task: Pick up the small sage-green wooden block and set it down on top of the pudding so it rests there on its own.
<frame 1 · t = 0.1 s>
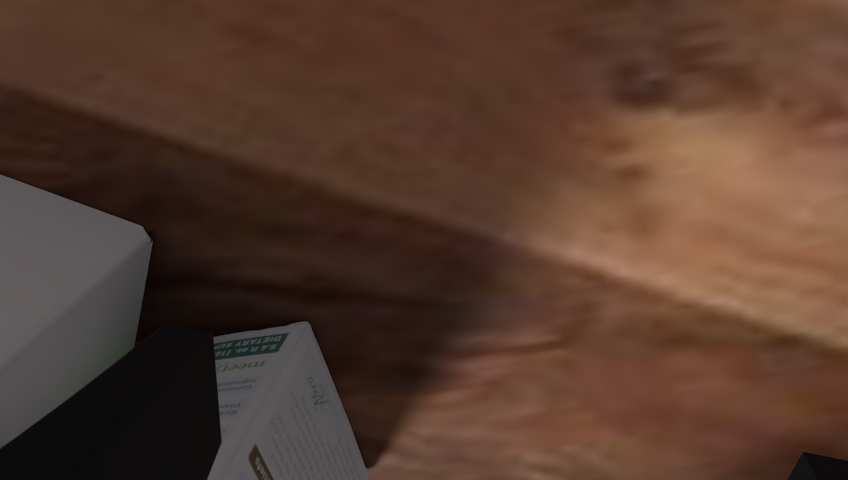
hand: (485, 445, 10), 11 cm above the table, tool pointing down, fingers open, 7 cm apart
syrup box: (260, 409, 24), on the table
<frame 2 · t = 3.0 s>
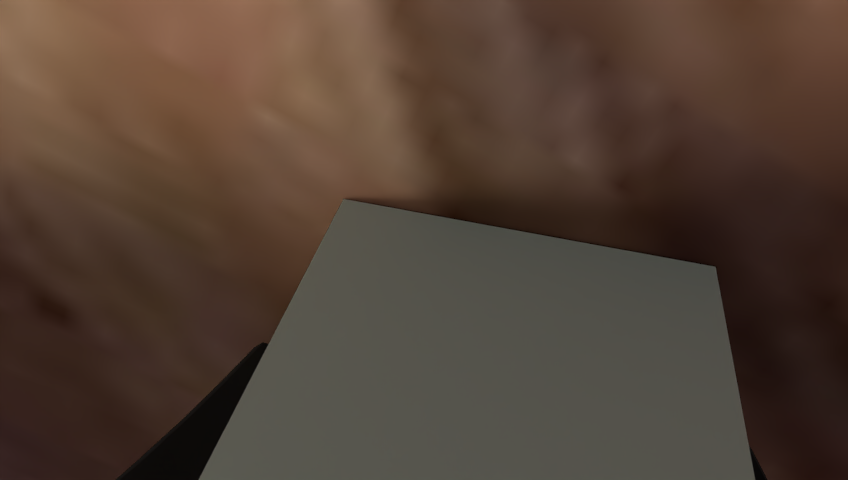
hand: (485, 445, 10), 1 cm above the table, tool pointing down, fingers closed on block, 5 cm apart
block: (497, 367, 11), on the table, touching gripper
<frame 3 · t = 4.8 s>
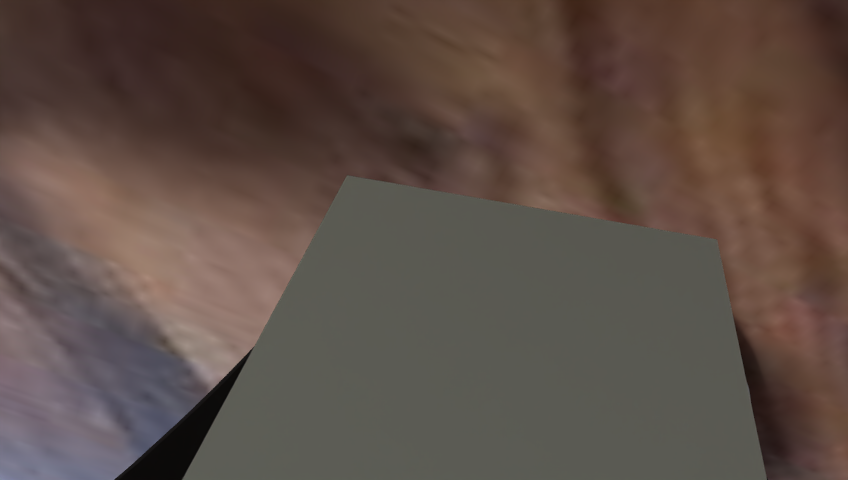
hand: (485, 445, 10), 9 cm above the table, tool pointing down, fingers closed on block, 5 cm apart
block: (501, 345, 11), point 8 cm above the table, touching gripper
when the fingers open (8 cm above the table, at t = 6.6 s): block drops 1 cm, resting on pudding.
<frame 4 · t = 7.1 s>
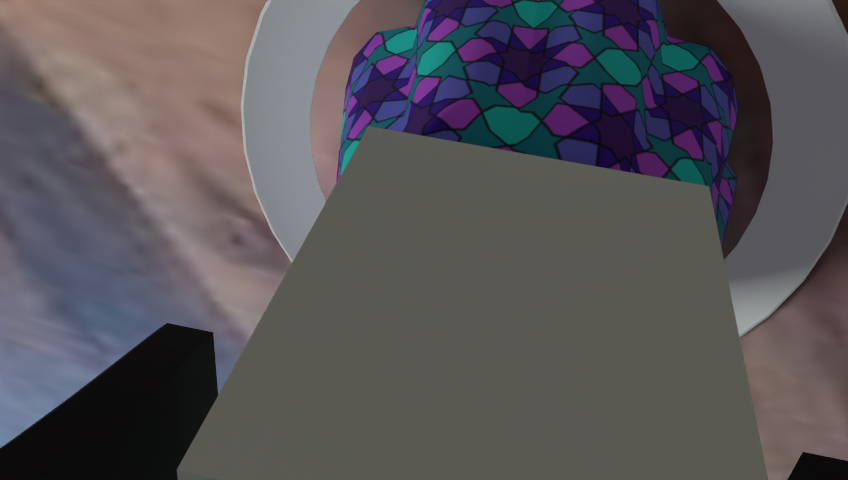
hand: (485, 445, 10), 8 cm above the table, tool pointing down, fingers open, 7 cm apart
pudding: (532, 149, 17), on the table, touching block
block: (508, 289, 12), point 5 cm above the table, touching pudding
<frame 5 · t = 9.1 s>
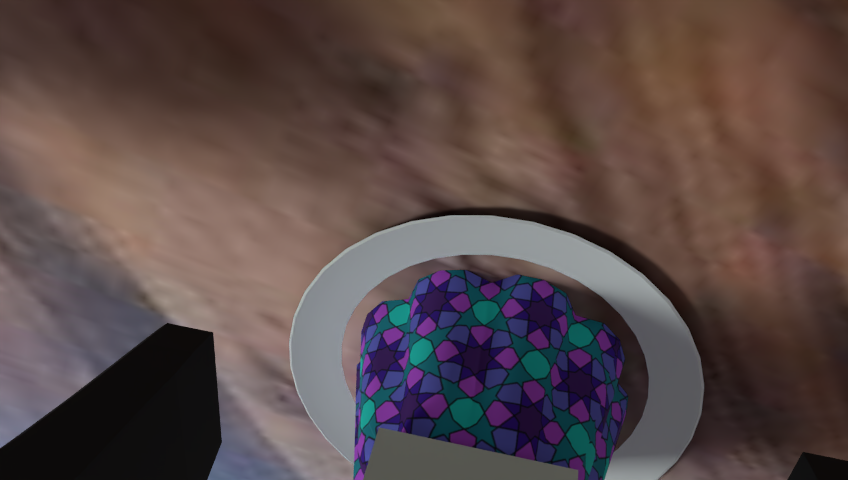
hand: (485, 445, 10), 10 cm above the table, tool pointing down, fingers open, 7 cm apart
pudding: (490, 366, 24), on the table
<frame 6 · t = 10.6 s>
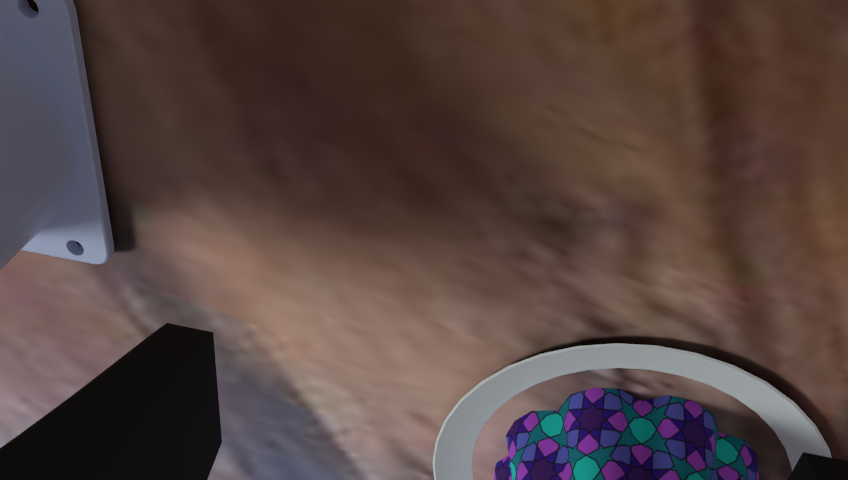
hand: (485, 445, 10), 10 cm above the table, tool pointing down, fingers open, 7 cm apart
pudding: (623, 466, 26), on the table
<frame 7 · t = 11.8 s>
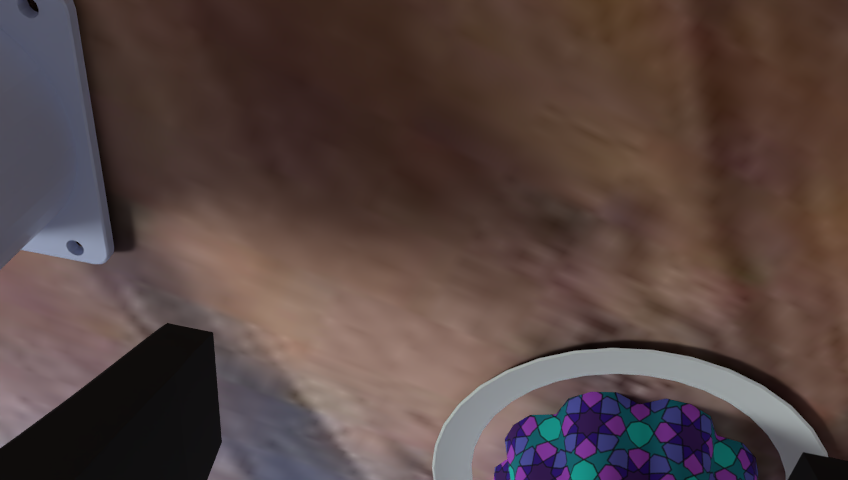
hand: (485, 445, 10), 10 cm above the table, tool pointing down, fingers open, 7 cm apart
pudding: (622, 469, 26), on the table, touching block
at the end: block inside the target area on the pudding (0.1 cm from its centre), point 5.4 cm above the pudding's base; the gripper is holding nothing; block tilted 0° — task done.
